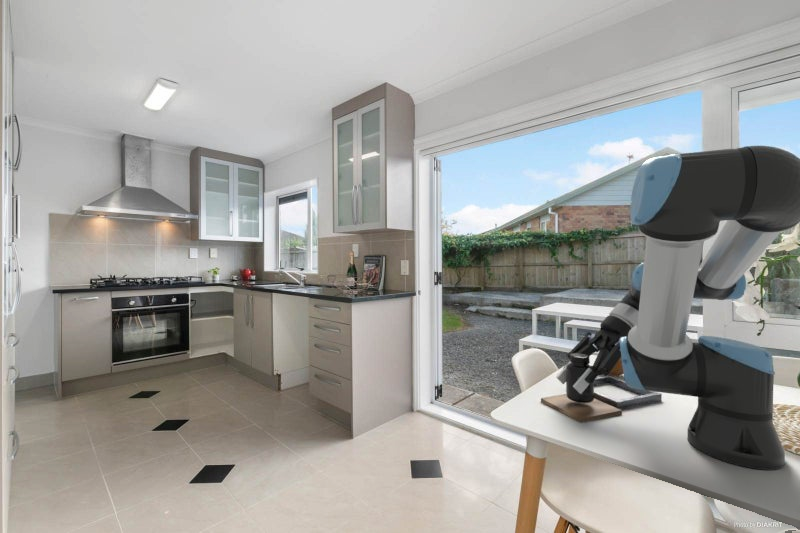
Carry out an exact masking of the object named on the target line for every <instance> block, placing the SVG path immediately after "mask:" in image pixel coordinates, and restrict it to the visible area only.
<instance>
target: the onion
mask: <svg viewBox="0 0 800 533" xmlns="http://www.w3.org/2000/svg"><path fill="white" fill-rule="evenodd" d="M604 369H605V368H604ZM622 375H624V374H623V366H622V358H621V357H620V359H619V360H618V362H617V363H616V364H615V366H614V367H613V369H612V370H611V371H610V373H609V374H608V376H616V377H619V376H622Z"/></svg>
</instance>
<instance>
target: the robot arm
mask: <svg viewBox="0 0 800 533" xmlns="http://www.w3.org/2000/svg"><path fill="white" fill-rule="evenodd" d="M631 190H632V191H631V195H630V196H631V197H630V201H631V202H630V205H629V216H630V217H629V218H630V221H631V223H633V224H634V225H635V224H636V225H637V226H638V228H637V229H638V231H639V233H640V234H641V235H643V236H644V237H645V238H646V242H645V250H644V258H643V262H641V263H640V264H639V265H637V266H636V267H635V269H634V271H633V273H632V274H631V280H630V285H629V287H628V291H627V293H626V294H625V295H624V297H623V298H622V299H621V300H620V301H619V302H618V303H617V304H616V305H615V307H614V308H612V310H611V311H610V312H609V313H608V314H609V315H607V316H606V317H605V318H604V319H603V320H602V322H601V323H600V324H599V325H600V329H599V330H598V331H597V332H596V333H592V332H590V331H587V332H586V334H585V335H584V337H583V338H582V339H581V340H580V341H579V342H578V343H577V344H576V345H575V346H574V347H573V348H572V349H571V350H570V351H569V352H568V353H567V354H566V357H567V358H568V359H569V360H568V361H567V363H566V364H565V365H564V366H563V369H562V370H560V372H559V373H557V374H558V375H556V376H555V378H556V379H557V380H558V381H559V382H560V383H561V384H562V385H565V384H566V366H567V365H568V364H569V363H571V362H570V354H573V353H579V354H586V355H588V356H589V357H590V356H591V355H593V354H595V353H597V356H596V357H595V360H594V362H593V365H590V368H591V369H592V370H591V369H590V368H588V369H587V370H586V371H585V372H584V374H583V375H582V376H581V377H580V378H579V379H578V381H577V382H576V383H575V384H574V385H573V387H574V388H575V389H576V390H577V391H578V392H579V393H580V394H582V392H583V391H584V390H585V389H586V388H587V386H588V385H589V384H591V383H592V382H593V381H594V380H595V379H596V378H597V377H601V376H609V373H610V371H611V370H612V369H613V367H614V366H615V364H616V363H617V362H618V360H619V359H620V357H621V358H622V366H623V374H622V375H623V378H624V379H623V381H625V383H626V384H627V385H628V386H629V387H631V388H636V389H641V390H644V391H654V392H658V393H661V394H662V393H663V394H670V395H671V394H673V395H679V396H680V395H681V396H689V397H697V408H696V409H695V411H694V414H693V417H692V418H691V421H690V422H689V424H688V428H687V441H688V442H689V444H691V445H692V446H693V447H694V448H695V449H697V450H698V451H700V452H702V453H704V454H706V455H708V456H710V457H713V458H715V459H717V460H721V461H722V462H723V461H724V462H725V463H729V464H732V465H736V466H741V467H744V468H750V469H758V470H779V469H782V468H783V467H784V466H785V464H786V462H785V461H786V455H785V450H784V449H785V448H784V447H783V445H782V441H781V440H780V437H779V435H778V432H777V429H776V428H775V425H774V421H773V420H774V418H773V415H774V414H773V413H774V378H775V376H776V372H775V369H774V358H773V355H772V354H771V353H770V351H768V350H767V349H766V348H764V347H761V346H758V345H755V344H753V343H748V342H745V341H740V340H736V339H732V338H726V337H719V336H714V335H700V336H698V337H699V338H698V339H697V342H693V341H692V339H691V338H690V337H689V336H688V335H687V331H688V326H689V321H690V316H691V309H692V306H693V305H692V304H693V300H694V299H697V300H698V299H699V300H719V301H725V300H740V299H741V298H742V297H744V295H745V291H746V289H747V280H746V275H745V274H746V273H747V271H748V270H749V269H750V268H751V266H753V264H755V262H756V261H757V260H758V259H759V258H760V256H762V254H763V253H764V252H765V250H767V248H768V247H769V246H770V245H771V244H772V243H773V241H775V239H776V238H777V237H778V236H779V235H780V234H781V233H782V232H785V231H788V230H791V229H793V228H794V227H796V226H797V225H798V224H799V223H800V158H799V157H798V156H797V155H795V154H794V153H792V152H790V151H788V150H785V149H782V148H779V147H774V146H768V145H750V146H748V145H747V146H742V147H733V148H724V149H723V148H722V149H716V150H705V151H704V150H703V151H696V152H683V153H672V154H669V155H662V156H656V157H651V158H649V159H647V160H646V161H644V162H643V163H642V164H641V165H640V167H639V169H638V171H637V173H636V176H635V179H634V182H633V187H632V189H631ZM722 221H726V222H725V223H724V225H723V226H722V228H721V230H720V232H718V231H719V226H720V222H722ZM717 233H719V234H718V235H717ZM716 235H717V236H716ZM714 236H716V238H715V239H714V242H713V243H712V245H711V247H710V248H709V250H708V251H707V253H706V254H705V256H704V258H703V260H702V262H701V259H702V253H703V248H704V243H705V241H707V240H710V239H712V238H713V237H714ZM700 262H701V263H700ZM604 368H605V369H604Z"/></svg>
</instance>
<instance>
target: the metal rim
mask: <svg viewBox="0 0 800 533" xmlns="http://www.w3.org/2000/svg"><path fill="white" fill-rule="evenodd" d="M606 384H607V385H608V384H610V385H612V386H615V387H618V388H620V389H621V388H622V389H624V390H626V391H629V392H632V393H635V394H638V395H636V396H631V397H630V396H629V397H627V398H621V399H615V398H612V397H609V396H608V395H605V394H602V393H600V392H598V391H595V390H594V399H597V400H599V401H601V402H604V403H606V404H608V405H611V406H613V407H615V408H618V409H620V410H622V409H626V408H632V407H638V406H643V405H647V404H648V405H649V404H653V403H657V402H661V401H662V398H663V397H662V393H661V392H654V391H644V390H641V389H636V388H631V387H629V386H628V385H627V384H626V383H625V380H624V379H619V378H616V377H614V376H612V375H607V376H604V375H602V376H597V378H596V379H595V380H594V387H595V386H600V385H606Z"/></svg>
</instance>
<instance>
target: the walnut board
mask: <svg viewBox="0 0 800 533" xmlns="http://www.w3.org/2000/svg"><path fill="white" fill-rule="evenodd" d="M540 402H541V403H543V404H544V403H545V405H547V406H548V405H549V407H551V408H552V409H554V410H556V411H558V412H560V413H561V414H564V415H565V416H568V417H570V419H573V420H575V421H577V422H579V423H586V422H591V421H596V420H599V419H604V418H609V417H613V416H618V415H622V414H623V411H622V409H618V408H615V407H613V406H611V405H608V404H606V403H604V402H601V401H599V400H597V399H594V400H593V401H592V402H590V403H580V402H575V401H572V400H570V399H568V398H567V395H566V393H564V394H557V395H552V396H545V397H541V398H540Z"/></svg>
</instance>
